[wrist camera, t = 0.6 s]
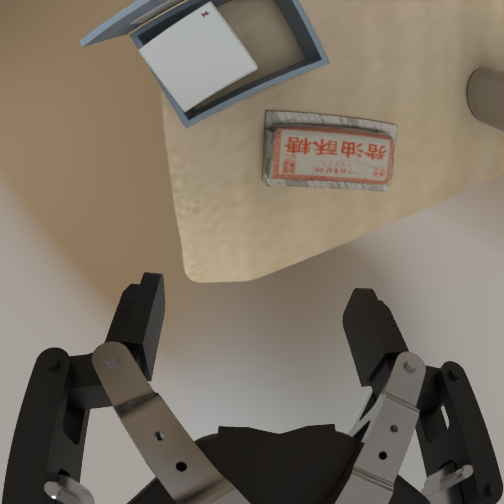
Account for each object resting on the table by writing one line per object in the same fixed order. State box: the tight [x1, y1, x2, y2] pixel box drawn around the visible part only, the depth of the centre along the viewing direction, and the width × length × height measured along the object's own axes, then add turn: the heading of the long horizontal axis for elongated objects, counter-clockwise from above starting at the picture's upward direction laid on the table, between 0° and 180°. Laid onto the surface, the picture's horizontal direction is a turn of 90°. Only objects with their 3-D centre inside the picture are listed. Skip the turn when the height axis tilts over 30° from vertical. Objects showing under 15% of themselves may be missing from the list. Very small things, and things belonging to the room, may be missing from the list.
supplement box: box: [139, 1, 258, 112], centre depth 26 cm, size 7×7×13 cm
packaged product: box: [262, 110, 398, 192], centre depth 37 cm, size 18×5×10 cm
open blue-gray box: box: [130, 0, 330, 128], centre depth 27 cm, size 16×12×7 cm
